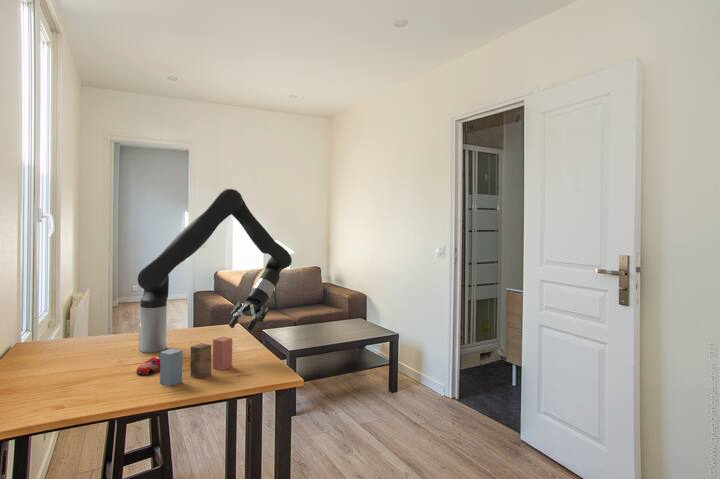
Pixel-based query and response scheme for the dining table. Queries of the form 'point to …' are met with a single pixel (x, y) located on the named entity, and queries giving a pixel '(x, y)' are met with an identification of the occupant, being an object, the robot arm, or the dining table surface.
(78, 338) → the dining table surface
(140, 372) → the race car
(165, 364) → the slate block
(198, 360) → the walnut block
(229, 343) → the red block
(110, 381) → the dining table surface
